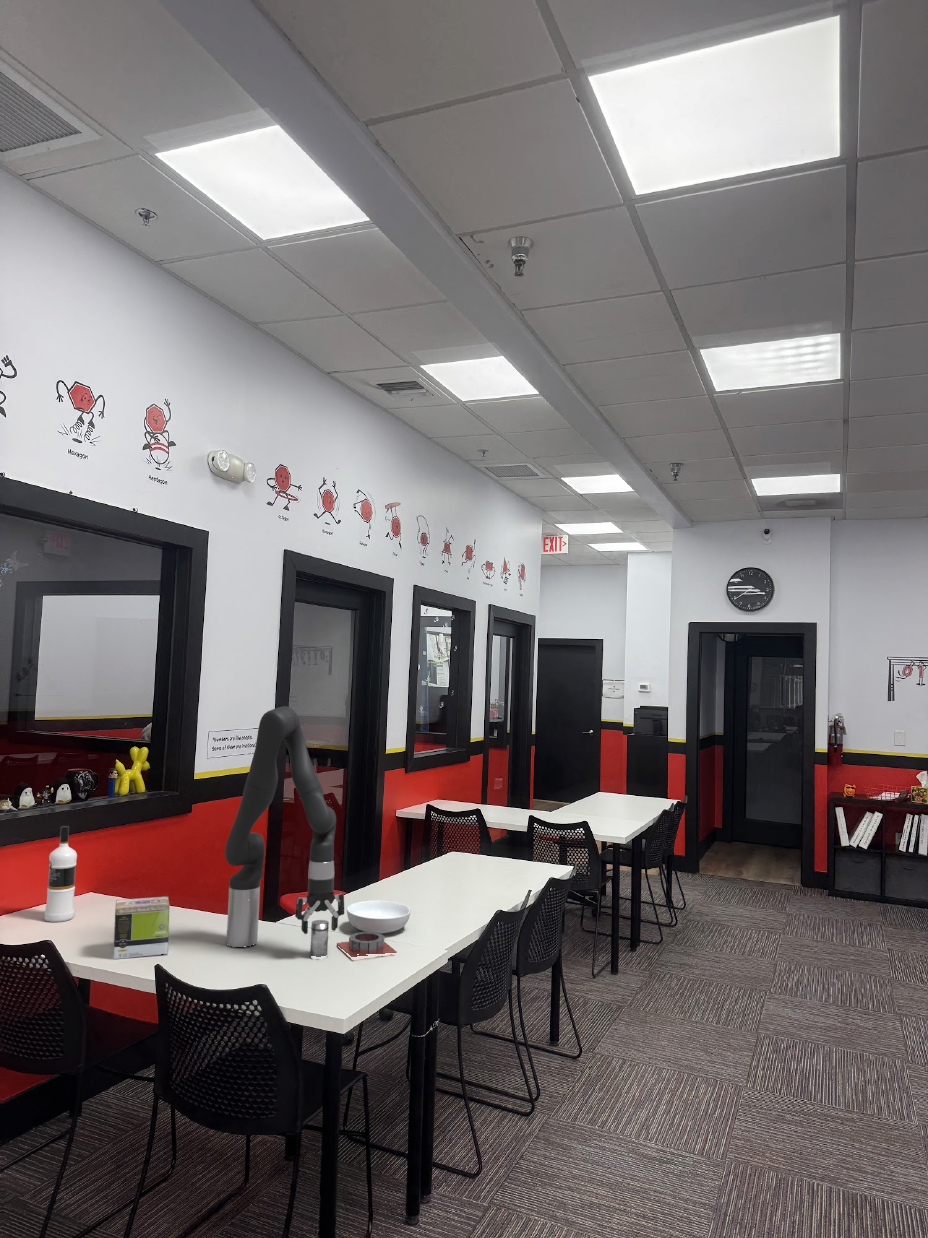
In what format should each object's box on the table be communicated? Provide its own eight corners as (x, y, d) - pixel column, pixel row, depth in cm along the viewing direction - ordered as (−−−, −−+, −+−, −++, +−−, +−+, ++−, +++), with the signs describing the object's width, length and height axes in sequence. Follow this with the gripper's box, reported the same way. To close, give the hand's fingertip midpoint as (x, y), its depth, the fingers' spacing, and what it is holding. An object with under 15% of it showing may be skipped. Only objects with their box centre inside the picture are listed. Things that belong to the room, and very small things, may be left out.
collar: (336, 946, 263) (337, 933, 263) (379, 941, 269) (379, 928, 270) (352, 961, 251) (353, 947, 251) (396, 955, 257) (397, 941, 257)
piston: (307, 955, 254) (309, 921, 255) (324, 953, 257) (325, 919, 257) (312, 960, 250) (314, 926, 250) (329, 958, 252) (331, 924, 253)
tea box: (166, 944, 259) (169, 895, 260) (168, 955, 250) (170, 904, 251) (113, 949, 254) (116, 898, 255) (112, 960, 245) (115, 907, 245)
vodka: (75, 921, 279) (81, 828, 281) (44, 924, 275) (49, 829, 276) (73, 913, 287) (79, 823, 289) (43, 916, 283) (48, 824, 285)
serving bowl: (379, 944, 266) (380, 922, 267) (332, 930, 279) (333, 908, 279) (422, 929, 283) (423, 908, 283) (376, 916, 296) (377, 896, 296)
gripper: (340, 871, 260) (338, 925, 259) (294, 875, 254) (292, 931, 253) (348, 876, 254) (346, 932, 252) (301, 880, 247) (299, 938, 246)
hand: (319, 931), depth 253 cm, fingers open, 8 cm apart
